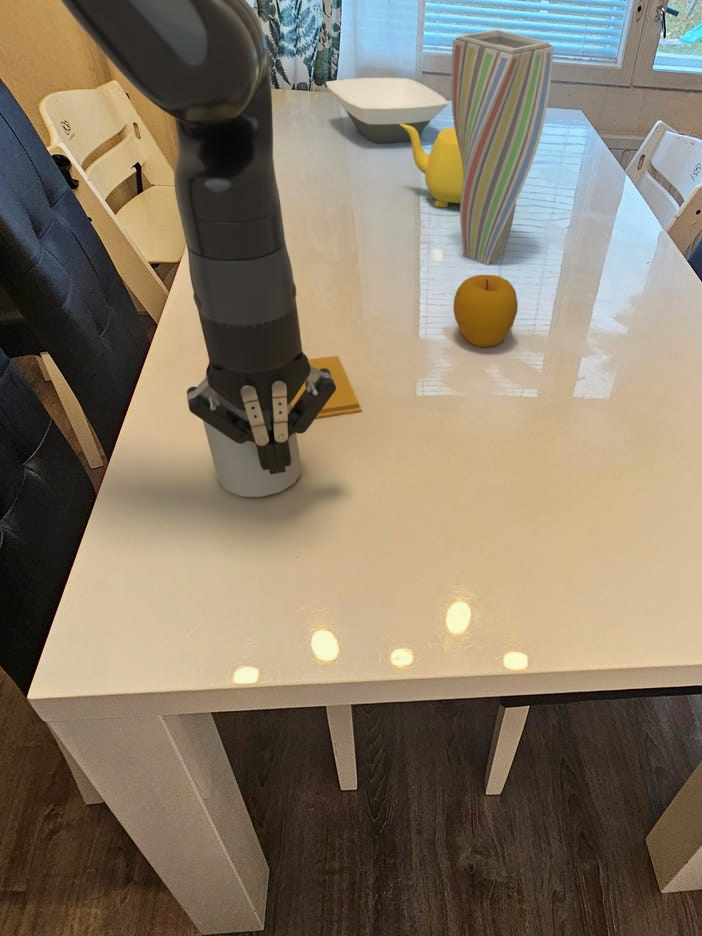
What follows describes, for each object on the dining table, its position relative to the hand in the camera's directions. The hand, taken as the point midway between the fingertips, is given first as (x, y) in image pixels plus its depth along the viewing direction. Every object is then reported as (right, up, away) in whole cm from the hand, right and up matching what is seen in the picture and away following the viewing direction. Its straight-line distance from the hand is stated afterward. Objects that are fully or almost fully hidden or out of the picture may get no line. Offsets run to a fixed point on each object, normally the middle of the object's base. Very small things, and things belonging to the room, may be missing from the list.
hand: (276, 468), depth 67 cm
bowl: (-1, +80, +89) cm, 120 cm away
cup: (-3, 0, +6) cm, 7 cm away
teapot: (+14, +55, +65) cm, 86 cm away
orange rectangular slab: (-4, +10, +16) cm, 20 cm away
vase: (+20, +38, +49) cm, 65 cm away
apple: (+20, +19, +29) cm, 40 cm away
